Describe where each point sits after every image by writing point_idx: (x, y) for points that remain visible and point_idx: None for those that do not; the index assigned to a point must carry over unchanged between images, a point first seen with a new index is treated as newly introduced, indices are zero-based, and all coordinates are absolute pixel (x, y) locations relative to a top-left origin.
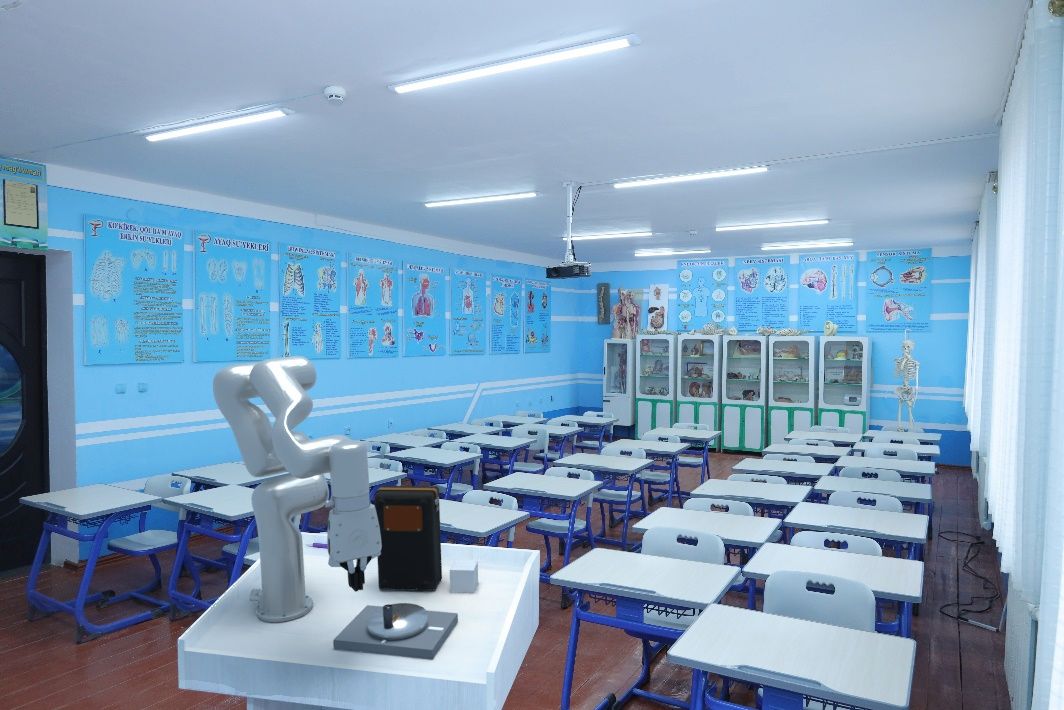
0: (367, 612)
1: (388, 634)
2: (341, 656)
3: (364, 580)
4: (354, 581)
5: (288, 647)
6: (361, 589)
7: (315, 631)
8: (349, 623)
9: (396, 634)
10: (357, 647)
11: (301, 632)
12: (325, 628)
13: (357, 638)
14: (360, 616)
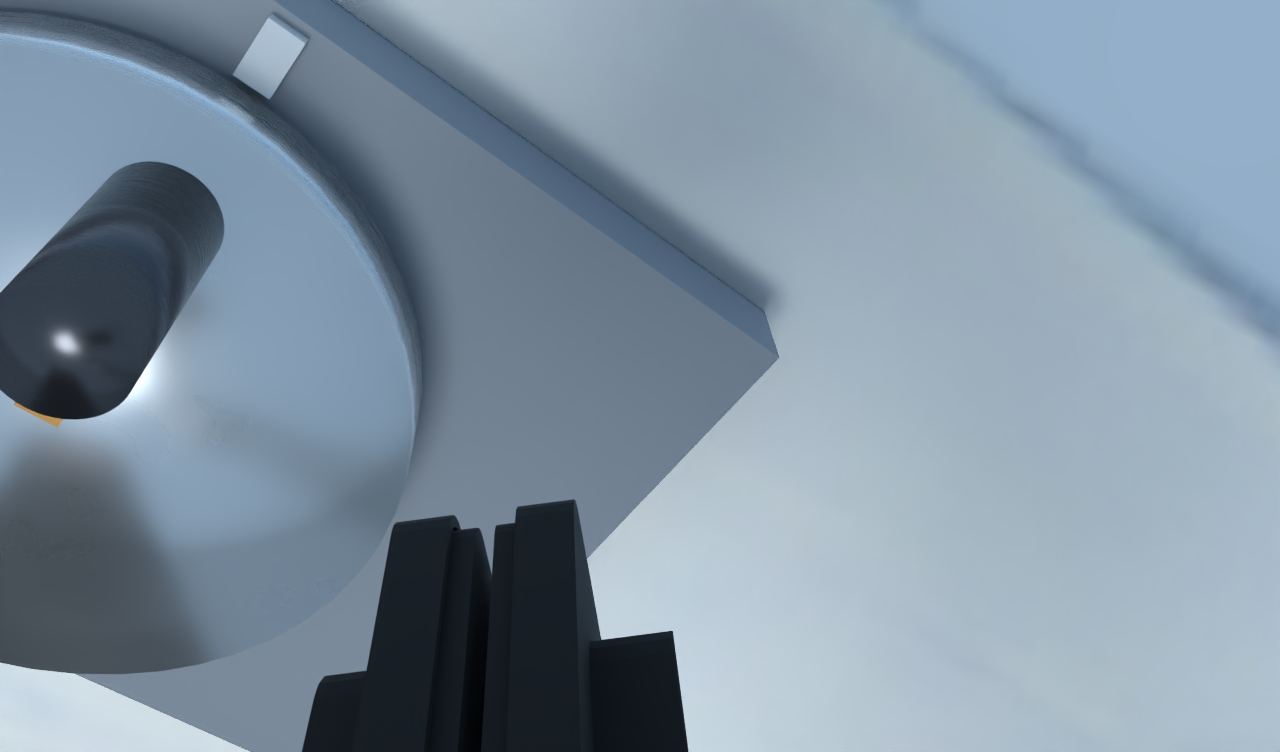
0: None
1: (182, 86)
2: (731, 144)
3: (316, 722)
4: (585, 702)
5: (1096, 491)
6: (434, 517)
7: (828, 635)
8: None
9: (76, 41)
10: (561, 182)
11: (930, 659)
12: (743, 648)
13: (544, 280)
14: None
